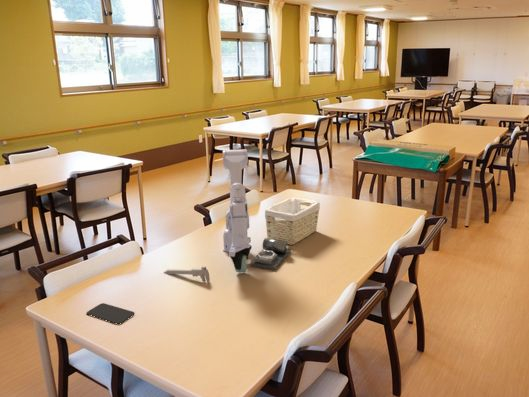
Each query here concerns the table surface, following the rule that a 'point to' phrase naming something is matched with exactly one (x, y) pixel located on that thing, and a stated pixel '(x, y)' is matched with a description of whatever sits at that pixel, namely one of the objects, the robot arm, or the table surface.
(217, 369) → the table surface
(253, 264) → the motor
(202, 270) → the caliper
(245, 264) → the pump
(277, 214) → the storage basket
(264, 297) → the table surface
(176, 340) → the table surface
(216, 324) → the table surface
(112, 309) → the phone
